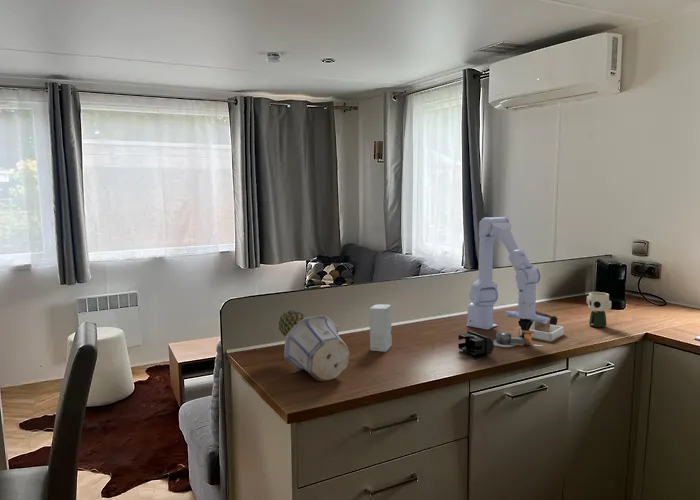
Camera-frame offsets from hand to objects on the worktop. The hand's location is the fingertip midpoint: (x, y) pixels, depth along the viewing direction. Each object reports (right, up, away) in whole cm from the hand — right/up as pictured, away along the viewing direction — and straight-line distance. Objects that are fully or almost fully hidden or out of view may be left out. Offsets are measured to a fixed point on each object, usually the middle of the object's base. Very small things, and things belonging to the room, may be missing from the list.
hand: (525, 340), depth 187 cm
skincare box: (-51, -3, -3) cm, 51 cm away
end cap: (-20, -3, -11) cm, 23 cm away
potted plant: (-74, -5, -22) cm, 78 cm away
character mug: (+35, +2, +21) cm, 41 cm away
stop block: (+9, 0, +10) cm, 13 cm away
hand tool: (+15, +2, +31) cm, 35 cm away
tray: (+9, 0, +10) cm, 13 cm away
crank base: (-3, -1, -1) cm, 4 cm away
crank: (-4, -1, -2) cm, 4 cm away
